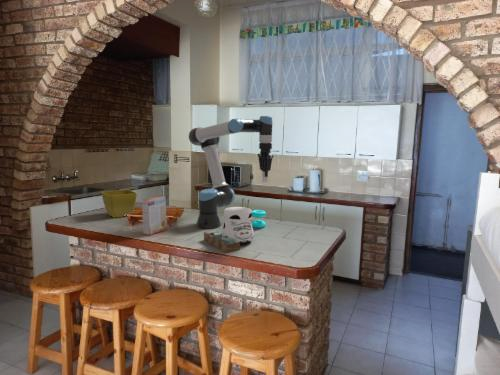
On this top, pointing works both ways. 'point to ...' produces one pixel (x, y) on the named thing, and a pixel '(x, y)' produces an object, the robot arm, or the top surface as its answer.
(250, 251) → the top surface
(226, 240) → the block
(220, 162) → the robot arm
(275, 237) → the top surface
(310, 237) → the top surface
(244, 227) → the milk container
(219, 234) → the block
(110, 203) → the flower pot
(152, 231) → the cracker box
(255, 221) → the donuts
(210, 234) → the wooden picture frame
